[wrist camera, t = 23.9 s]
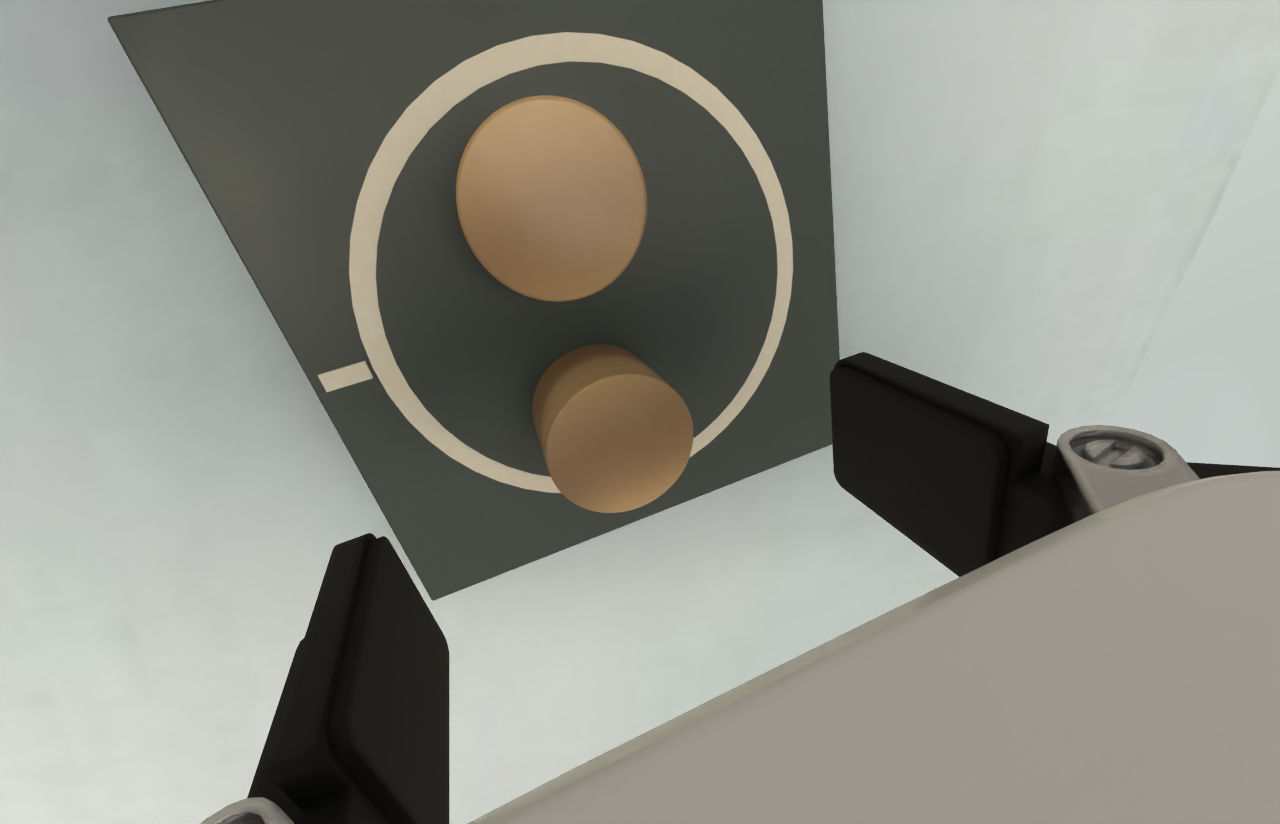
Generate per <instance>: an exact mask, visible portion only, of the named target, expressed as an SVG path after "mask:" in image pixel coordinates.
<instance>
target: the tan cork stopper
mask: <svg viewBox="0 0 1280 824" xmlns="http://www.w3.org/2000/svg"><path fill="white" fill-rule="evenodd" d="M532 418H533V423H534V426H535V430H536V433H537V436H538V439H539V442H540V446H541V449H542V452H543V455H544V458H545V461H546V465H547V468H548V471H549V474H550V476H551V478H552V480H553V482H554V484H555V485H556V487H557V488H558V490H559V491H560V492H561V493H562V494H563V495H564V496H565V497H566V498H568V499H569V500H570V501H572V502H573V503H575V504H576V505H578V506H581V507H583V508H585V509H588V510H592V511H596V512H602V513H617V512H625V511H629V510H633V509H636V508H639V507H641V506H644V505H646V504H648V503H650V502H652V501H653V500H655V499H657V498H658V497H659V496H661V495H662V494H663V493H665V492H666V491H667V490H668V489H669V488H670V487H671V486H672V485H673V484H674V483H675V481H676V480H677V479H678V478H679V476H680V475H681V473H682V472H683V470H684V468H685V466H686V464H687V462H688V459H689V457H690V454H691V450H692V445H693V423H692V419H691V415H690V412H689V410H688V407H687V405H686V404H685V402H684V400H683V399H682V398H681V396H680V395H679V394H678V393H677V392H676V391H675V390H674V389H673V388H672V387H671V386H670V385H669V384H667V383H666V382H665V381H664V380H663V379H662V378H661V377H660V376H659V375H658V374H656V373H655V372H654V371H653V370H652V369H651V368H650V367H649V366H648V365H647V364H645V363H644V362H643V361H642V360H641V359H640V358H639V357H637V356H636V355H635V354H633V353H632V352H630V351H628V350H626V349H624V348H621V347H618V346H614V345H608V344H593V345H587V346H583V347H579V348H576V349H574V350H571V351H570V352H568V353H566V354H564V355H563V356H561V357H560V358H558V359H557V360H556V361H555V362H554V363H553V364H551V365H550V366H549V368H548V369H547V370H546V371H545V372H544V374H543V375H542V377H541V379H540V380H539V382H538V384H537V387H536V389H535V392H534V396H533V401H532Z"/></svg>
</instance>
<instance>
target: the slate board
mask: <svg viewBox="0 0 1280 824" xmlns="http://www.w3.org/2000/svg"><path fill="white" fill-rule="evenodd" d="M108 22H109V24H110V25H111V27H112V29H113V31H114V33H115V34H116V36H117V38H118V40H119V41H120V43H121V45H122V47H123V49H124V50H125V52H126V54H127V56H128V58H129V59H130V61H131V63H132V65H133V67H134V68H135V70H136V72H137V74H138V75H139V77H140V79H141V81H142V83H143V84H144V86H145V88H146V90H147V92H148V93H149V95H150V97H151V99H152V101H153V102H154V104H155V106H156V108H157V109H158V111H159V113H160V115H161V117H162V118H163V120H164V122H165V124H166V126H167V127H168V129H169V131H170V133H171V135H172V136H173V138H174V140H175V142H176V143H177V145H178V147H179V149H180V151H181V152H182V154H183V156H184V158H185V160H186V161H187V163H188V165H189V167H190V169H191V170H192V172H193V174H194V176H195V177H196V179H197V181H198V183H199V185H200V186H201V188H202V190H203V192H204V194H205V195H206V197H207V199H208V201H209V202H210V204H211V206H212V208H213V210H214V211H215V213H216V215H217V217H218V219H219V220H220V222H221V224H222V226H223V228H224V229H225V231H226V233H227V235H228V236H229V238H230V240H231V242H232V244H233V245H234V247H235V249H236V251H237V253H238V254H239V256H240V258H241V260H242V262H243V263H244V265H245V267H246V269H247V270H248V272H249V274H250V276H251V278H252V279H253V281H254V283H255V285H256V287H257V288H258V290H259V292H260V294H261V296H262V297H263V299H264V301H265V303H266V304H267V306H268V308H269V310H270V312H271V313H272V315H273V317H274V319H275V321H276V322H277V324H278V326H279V328H280V330H281V331H282V333H283V335H284V337H285V338H286V340H287V342H288V344H289V346H290V347H291V349H292V351H293V353H294V355H295V356H296V358H297V360H298V362H299V364H300V365H301V367H302V369H303V371H304V372H305V374H306V376H307V378H308V380H309V381H310V383H311V385H312V387H313V389H314V390H315V392H316V394H317V396H318V397H319V399H320V401H321V403H322V405H323V406H324V408H325V410H326V412H327V414H328V415H329V417H330V419H331V421H332V423H333V424H334V426H335V428H336V430H337V431H338V433H339V435H340V437H341V439H342V440H343V442H344V444H345V446H346V448H347V449H348V451H349V453H350V455H351V457H352V458H353V460H354V462H355V464H356V465H357V467H358V469H359V471H360V473H361V474H362V476H363V478H364V480H365V482H366V483H367V485H368V487H369V489H370V491H371V492H372V494H373V496H374V498H375V499H376V501H377V503H378V505H379V507H380V508H381V510H382V512H383V514H384V516H385V517H386V519H387V521H388V523H389V525H390V526H391V528H392V530H393V532H394V533H395V535H396V537H397V539H398V541H399V542H400V544H401V546H402V548H403V550H404V551H405V553H406V555H407V557H408V558H409V560H410V562H411V564H412V566H413V567H414V569H415V571H416V573H417V575H418V576H419V578H420V580H421V582H422V584H423V585H424V587H425V589H426V591H427V592H428V594H429V596H430V598H431V600H436V599H439V598H441V597H444V596H446V595H449V594H451V593H454V592H457V591H459V590H462V589H464V588H467V587H469V586H472V585H474V584H477V583H479V582H482V581H485V580H487V579H490V578H492V577H495V576H497V575H500V574H502V573H505V572H507V571H510V570H513V569H515V568H518V567H520V566H523V565H525V564H528V563H530V562H533V561H535V560H538V559H541V558H543V557H546V556H548V555H551V554H553V553H556V552H558V551H561V550H564V549H566V548H569V547H571V546H574V545H576V544H579V543H581V542H584V541H586V540H589V539H592V538H594V537H597V536H599V535H602V534H604V533H607V532H609V531H612V530H614V529H617V528H620V527H622V526H625V525H627V524H630V523H632V522H635V521H637V520H640V519H642V518H645V517H648V516H650V515H653V514H655V513H658V512H660V511H663V510H665V509H668V508H671V507H673V506H676V505H678V504H681V503H683V502H686V501H688V500H691V499H693V498H696V497H699V496H701V495H704V494H706V493H709V492H711V491H714V490H716V489H719V488H721V487H724V486H727V485H729V484H732V483H734V482H737V481H739V480H742V479H744V478H747V477H749V476H752V475H755V474H757V473H760V472H762V471H765V470H767V469H770V468H772V467H775V466H778V465H780V464H783V463H785V462H788V461H790V460H793V459H795V458H798V457H800V456H803V455H806V454H808V453H811V452H813V451H816V450H818V449H821V448H823V447H826V446H828V445H831V444H833V441H832V420H831V399H830V373H831V371H832V370H834V367H835V364H836V363H837V362H838V361H839V360H840V358H839V337H838V317H837V296H836V275H835V254H834V233H833V213H832V192H831V171H830V150H829V129H828V109H827V88H826V67H825V46H824V25H823V5H822V0H210V1H204V2H198V3H191V4H185V5H179V6H173V7H167V8H161V9H154V10H148V11H142V12H136V13H130V14H123V15H117V16H111V17H109V18H108ZM539 95H552V96H560V97H565V98H569V99H572V100H576V101H579V102H581V103H583V104H585V105H587V106H589V107H591V108H593V109H595V110H596V111H598V112H599V113H601V114H602V115H604V116H605V117H606V118H607V119H608V120H609V121H610V122H612V123H613V124H614V125H615V126H616V127H617V129H618V130H619V131H620V132H621V133H622V134H623V135H624V137H625V138H626V140H627V141H628V143H629V144H630V146H631V147H632V149H633V151H634V153H635V155H636V157H637V159H638V162H639V164H640V167H641V170H642V173H643V177H644V181H645V186H646V194H647V215H646V223H645V228H644V233H643V236H642V239H641V242H640V245H639V247H638V249H637V251H636V253H635V255H634V257H633V258H632V260H631V262H630V263H629V265H628V266H627V267H626V269H625V270H624V271H623V272H622V273H621V275H619V276H618V277H617V278H616V279H615V280H614V281H613V282H612V283H610V284H609V285H608V286H606V287H605V288H603V289H602V290H600V291H598V292H596V293H594V294H592V295H589V296H587V297H584V298H581V299H576V300H572V301H562V302H553V301H543V300H538V299H534V298H531V297H527V296H524V295H522V294H520V293H518V292H515V291H513V290H512V289H510V288H508V287H507V286H505V285H504V284H502V283H501V282H500V281H498V280H497V279H496V278H495V277H493V276H492V275H491V274H490V273H489V272H488V271H487V270H486V269H485V268H484V267H483V265H482V264H481V263H480V261H479V260H478V259H477V257H476V256H475V255H474V253H473V251H472V249H471V248H470V246H469V244H468V242H467V240H466V238H465V235H464V233H463V231H462V227H461V224H460V221H459V217H458V211H457V205H456V181H457V173H458V168H459V164H460V160H461V158H462V155H463V152H464V150H465V147H466V145H467V144H468V142H469V140H470V138H471V137H472V135H473V134H474V132H475V131H476V130H477V128H478V127H479V126H480V125H481V123H482V122H484V121H485V120H486V119H487V118H488V117H489V116H490V115H491V114H492V113H494V112H495V111H497V110H498V109H500V108H501V107H503V106H505V105H507V104H509V103H511V102H513V101H516V100H519V99H522V98H526V97H532V96H539ZM593 344H608V345H614V346H618V347H621V348H624V349H626V350H628V351H630V352H632V353H633V354H635V355H636V356H637V357H639V358H640V359H641V360H642V361H643V362H644V363H645V364H647V365H648V366H649V367H650V368H651V369H652V370H653V371H654V372H655V373H656V374H658V375H659V376H660V377H661V378H662V379H663V380H664V381H665V382H666V383H667V384H669V385H670V386H671V387H672V388H673V389H674V390H675V391H676V392H677V393H678V394H679V395H680V396H681V398H682V399H683V400H684V402H685V404H686V405H687V407H688V410H689V412H690V415H691V419H692V423H693V445H692V450H691V454H690V457H689V459H688V462H687V464H686V466H685V468H684V470H683V472H682V473H681V475H680V476H679V478H678V479H677V480H676V481H675V483H674V484H673V485H672V486H671V487H670V488H669V489H668V490H667V491H666V492H665V493H663V494H662V495H661V496H659V497H658V498H657V499H655V500H653V501H652V502H650V503H648V504H646V505H644V506H641V507H639V508H636V509H633V510H629V511H625V512H617V513H602V512H596V511H592V510H588V509H585V508H583V507H581V506H578V505H576V504H575V503H573V502H572V501H570V500H569V499H568V498H566V497H565V496H564V495H563V494H562V493H561V492H560V491H559V490H558V488H557V487H556V485H555V484H554V482H553V480H552V478H551V476H550V474H549V471H548V468H547V465H546V461H545V458H544V455H543V452H542V449H541V446H540V442H539V439H538V436H537V433H536V430H535V426H534V423H533V418H532V401H533V396H534V392H535V389H536V387H537V384H538V382H539V380H540V379H541V377H542V375H543V374H544V372H545V371H546V370H547V369H548V368H549V366H550V365H551V364H553V363H554V362H555V361H556V360H557V359H558V358H560V357H561V356H563V355H564V354H566V353H568V352H570V351H571V350H574V349H576V348H579V347H583V346H587V345H593Z"/></svg>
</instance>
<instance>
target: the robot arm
mask: <svg viewBox="0 0 1280 824" xmlns="http://www.w3.org/2000/svg"><path fill="white" fill-rule="evenodd" d="M830 399H831V420H832V441H833V462H834V475H835V477H836V480H837V482H838V483H839V484H840V486H841V487H842V488H844V489H845V490H846V491H847V492H849V493H850V494H851V495H853V496H854V497H855V498H857V499H858V500H859V501H861V502H862V503H863V504H865V505H866V506H867V507H868V508H870V509H871V510H872V511H874V512H875V513H876V514H878V515H879V516H880V517H882V518H883V519H884V520H886V521H887V522H888V523H889V524H891V525H892V526H893V527H895V528H896V529H897V530H899V531H900V532H901V533H903V534H904V535H905V536H907V537H908V538H909V539H911V540H912V541H913V542H914V543H916V544H917V545H918V546H920V547H921V548H922V549H924V550H925V551H926V552H928V553H929V554H930V555H932V556H933V557H934V558H935V559H937V560H938V561H939V562H941V563H942V564H943V565H945V566H946V567H947V568H949V569H950V570H951V571H953V572H954V573H955V574H956V575H958V576H959V578H957V579H955V580H953V581H951V582H949V583H947V584H945V585H943V586H941V587H939V588H937V589H935V590H933V591H930V592H928V593H926V594H924V595H922V596H920V597H918V598H916V599H914V600H912V601H910V602H908V603H906V604H904V605H902V606H900V607H898V608H896V609H894V610H891V611H889V612H887V613H885V614H883V615H881V616H879V617H877V618H875V619H873V620H871V621H869V622H867V623H865V624H863V625H861V626H859V627H857V628H855V629H853V630H851V631H849V632H847V633H845V634H843V635H841V636H839V637H837V638H835V639H833V640H831V641H829V642H827V643H825V644H823V645H821V646H818V647H816V648H814V649H812V650H810V651H808V652H806V653H804V654H802V655H800V656H798V657H796V658H794V659H792V660H790V661H788V662H786V663H784V664H782V665H780V666H778V667H776V668H774V669H772V670H770V671H768V672H766V673H764V674H762V675H760V676H758V677H756V678H754V679H752V680H750V681H748V682H746V683H744V684H742V685H740V686H738V687H736V688H734V689H732V690H730V691H728V692H726V693H724V694H722V695H720V696H718V697H716V698H714V699H712V700H710V701H708V702H706V703H704V704H702V705H700V706H698V707H696V708H694V709H692V710H690V711H688V712H686V713H684V714H682V715H680V716H678V717H676V718H674V719H672V720H670V721H668V722H666V723H664V724H662V725H660V726H658V727H656V728H654V729H652V730H650V731H648V732H646V733H644V734H642V735H640V736H638V737H636V738H634V739H632V740H630V741H628V742H626V743H624V744H622V745H620V746H618V747H616V748H614V749H612V750H610V751H608V752H606V753H604V754H602V755H600V756H598V757H596V758H594V759H592V760H590V761H588V762H586V763H584V764H582V765H580V766H578V767H576V768H574V769H572V770H570V771H568V772H566V773H564V774H562V775H560V776H558V777H557V778H555V779H553V780H551V781H549V782H547V783H545V784H543V785H541V786H539V787H537V788H535V789H534V790H532V791H530V792H528V793H526V794H524V795H522V796H520V797H518V798H516V799H514V800H512V801H511V802H509V803H507V804H505V805H503V806H501V807H499V808H497V809H495V810H493V811H491V812H489V813H488V814H486V815H484V816H482V817H480V818H478V819H476V820H474V821H472V822H470V823H468V824H1280V468H1272V467H1255V466H1238V465H1221V464H1204V463H1186V462H1185V461H1184V459H1182V457H1181V456H1180V455H1179V454H1178V453H1177V451H1176V450H1175V449H1173V448H1172V447H1171V446H1170V445H1169V444H1168V443H1166V442H1165V441H1163V440H1161V439H1159V438H1157V437H1155V436H1152V435H1150V434H1147V433H1144V432H1140V431H1137V430H1134V429H1128V428H1123V427H1116V426H1103V425H1095V426H1082V427H1078V428H1074V429H1070V430H1068V431H1066V432H1065V433H1063V434H1061V436H1060V438H1059V439H1058V441H1057V446H1055V445H1053V444H1050V443H1048V442H1046V440H1047V435H1048V429H1049V425H1048V424H1046V423H1043V422H1041V421H1038V420H1036V419H1033V418H1031V417H1028V416H1026V415H1023V414H1021V413H1018V412H1015V411H1013V410H1010V409H1008V408H1005V407H1003V406H1000V405H998V404H995V403H993V402H990V401H988V400H985V399H983V398H980V397H977V396H975V395H972V394H970V393H967V392H965V391H962V390H960V389H957V388H955V387H952V386H950V385H947V384H944V383H942V382H939V381H937V380H934V379H932V378H929V377H927V376H924V375H922V374H919V373H917V372H914V371H912V370H909V369H906V368H904V367H901V366H899V365H896V364H894V363H891V362H889V361H886V360H884V359H881V358H879V357H876V356H873V355H871V354H868V353H865V352H862V353H858V354H855V355H853V356H850V357H847V358H845V359H842V360H839V361H838V362H837V363H836V364H835V367H834V370H832V371H831V373H830ZM201 824H449V650H448V645H447V642H446V639H445V636H444V634H443V633H442V631H441V629H440V627H439V626H438V624H437V622H436V621H435V619H434V617H433V615H432V614H431V612H430V610H429V608H428V607H427V605H426V603H425V602H424V600H423V598H422V596H421V595H420V593H419V591H418V589H417V588H416V586H415V584H414V583H413V581H412V579H411V577H410V576H409V574H408V572H407V570H406V569H405V567H404V565H403V564H402V562H401V560H400V558H399V557H398V555H397V553H396V551H395V550H394V548H393V546H392V545H391V543H390V541H389V540H388V539H387V538H386V537H384V536H383V537H380V538H378V539H376V537H375V536H374V535H373V534H370V533H368V534H365V535H363V536H360V537H357V538H354V539H352V540H349V541H346V542H344V543H341V544H338V545H336V546H335V547H334V549H333V551H332V554H331V557H330V560H329V563H328V567H327V570H326V573H325V576H324V579H323V582H322V585H321V588H320V591H319V595H318V598H317V601H316V604H315V607H314V610H313V613H312V616H311V619H310V622H309V626H308V629H307V632H306V635H305V638H304V639H303V640H301V641H300V643H299V645H298V647H297V649H296V652H295V655H294V658H293V661H292V665H291V668H290V671H289V674H288V677H287V680H286V683H285V686H284V689H283V692H282V695H281V698H280V701H279V704H278V707H277V710H276V713H275V716H274V719H273V722H272V725H271V728H270V731H269V734H268V737H267V740H266V743H265V746H264V749H263V752H262V755H261V758H260V761H259V764H258V767H257V770H256V773H255V776H254V779H253V782H252V785H251V788H250V791H249V794H248V797H247V798H246V799H244V800H241V801H238V802H236V803H233V804H230V805H228V806H226V807H225V808H223V809H221V810H220V811H218V812H217V813H215V814H213V815H212V816H210V817H209V818H207V819H206V820H204V821H203V822H202V823H201Z"/></svg>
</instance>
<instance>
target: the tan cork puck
mask: <svg viewBox="0 0 1280 824" xmlns="http://www.w3.org/2000/svg"><path fill="white" fill-rule="evenodd" d="M456 205H457V211H458V217H459V221H460V224H461V227H462V231H463V233H464V235H465V238H466V240H467V242H468V244H469V246H470V248H471V249H472V251H473V253H474V255H475V256H476V257H477V259H478V260H479V261H480V263H481V264H482V265H483V267H484V268H485V269H486V270H487V271H488V272H489V273H490V274H491V275H492V276H493V277H495V278H496V279H497V280H498V281H500V282H501V283H502V284H504V285H505V286H507V287H508V288H510V289H512V290H513V291H515V292H518V293H520V294H522V295H524V296H527V297H531V298H534V299H538V300H543V301H553V302H562V301H572V300H576V299H581V298H584V297H587V296H589V295H592V294H594V293H596V292H598V291H600V290H602V289H603V288H605V287H606V286H608V285H609V284H610V283H612V282H613V281H614V280H615V279H616V278H617V277H618V276H619V275H621V273H622V272H623V271H624V270H625V269H626V267H627V266H628V265H629V263H630V262H631V260H632V258H633V257H634V255H635V253H636V251H637V249H638V247H639V245H640V242H641V239H642V236H643V233H644V228H645V223H646V215H647V194H646V186H645V181H644V177H643V173H642V170H641V167H640V164H639V162H638V159H637V157H636V155H635V153H634V151H633V149H632V147H631V146H630V144H629V143H628V141H627V140H626V138H625V137H624V135H623V134H622V133H621V132H620V131H619V130H618V129H617V127H616V126H615V125H614V124H613V123H612V122H610V121H609V120H608V119H607V118H606V117H605V116H604V115H602V114H601V113H599V112H598V111H596V110H595V109H593V108H591V107H589V106H587V105H585V104H583V103H581V102H579V101H576V100H572V99H569V98H565V97H560V96H552V95H539V96H532V97H526V98H522V99H519V100H516V101H513V102H511V103H509V104H507V105H505V106H503V107H501V108H500V109H498V110H497V111H495V112H494V113H492V114H491V115H490V116H489V117H488V118H487V119H486V120H485V121H484V122H482V123H481V125H480V126H479V127H478V128H477V130H476V131H475V132H474V134H473V135H472V137H471V138H470V140H469V142H468V144H467V145H466V147H465V150H464V152H463V155H462V158H461V160H460V164H459V168H458V173H457V181H456Z"/></svg>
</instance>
